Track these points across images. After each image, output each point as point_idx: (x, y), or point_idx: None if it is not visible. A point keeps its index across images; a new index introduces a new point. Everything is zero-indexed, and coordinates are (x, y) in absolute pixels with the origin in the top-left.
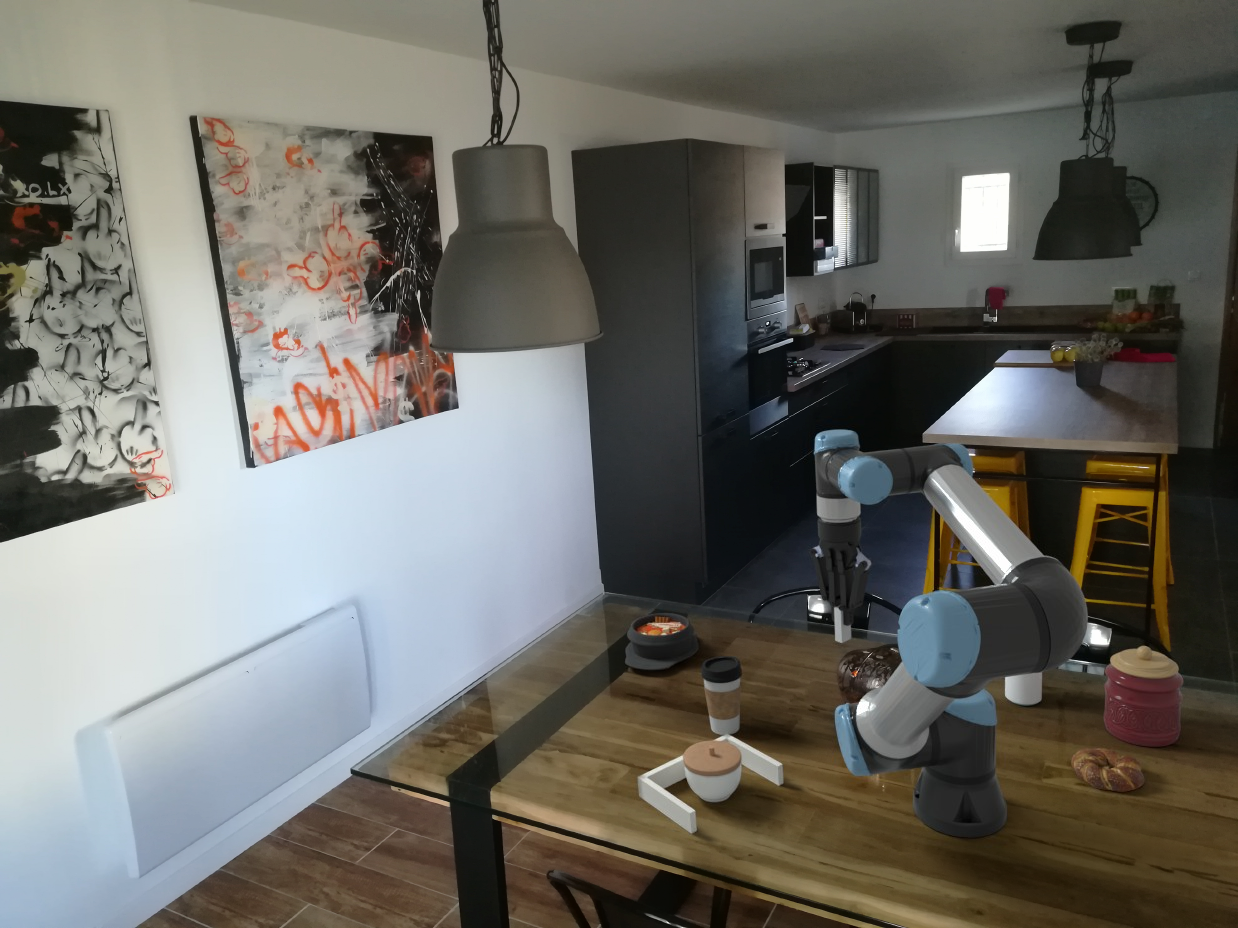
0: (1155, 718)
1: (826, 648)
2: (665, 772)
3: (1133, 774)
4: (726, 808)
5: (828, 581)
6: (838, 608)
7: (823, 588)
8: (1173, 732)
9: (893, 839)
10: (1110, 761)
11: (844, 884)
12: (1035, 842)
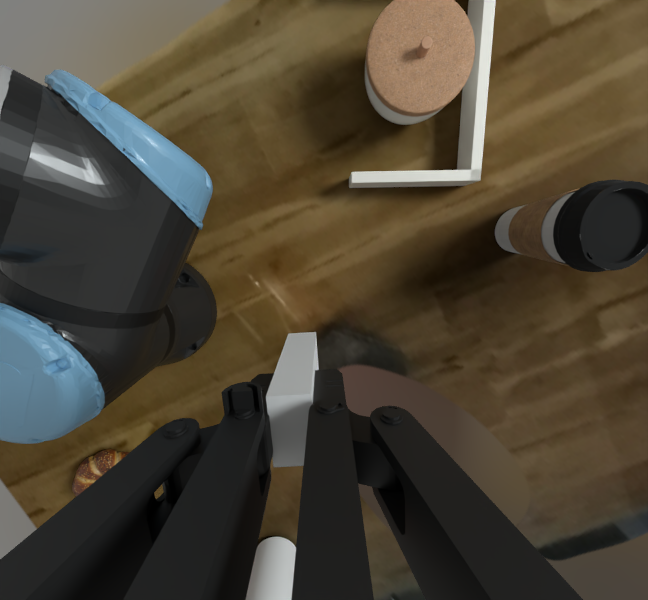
0: None
1: (553, 500)
2: (478, 19)
3: (73, 485)
4: (359, 75)
5: (423, 556)
6: (285, 400)
7: (410, 461)
8: None
9: None
10: None
11: (139, 81)
12: None
